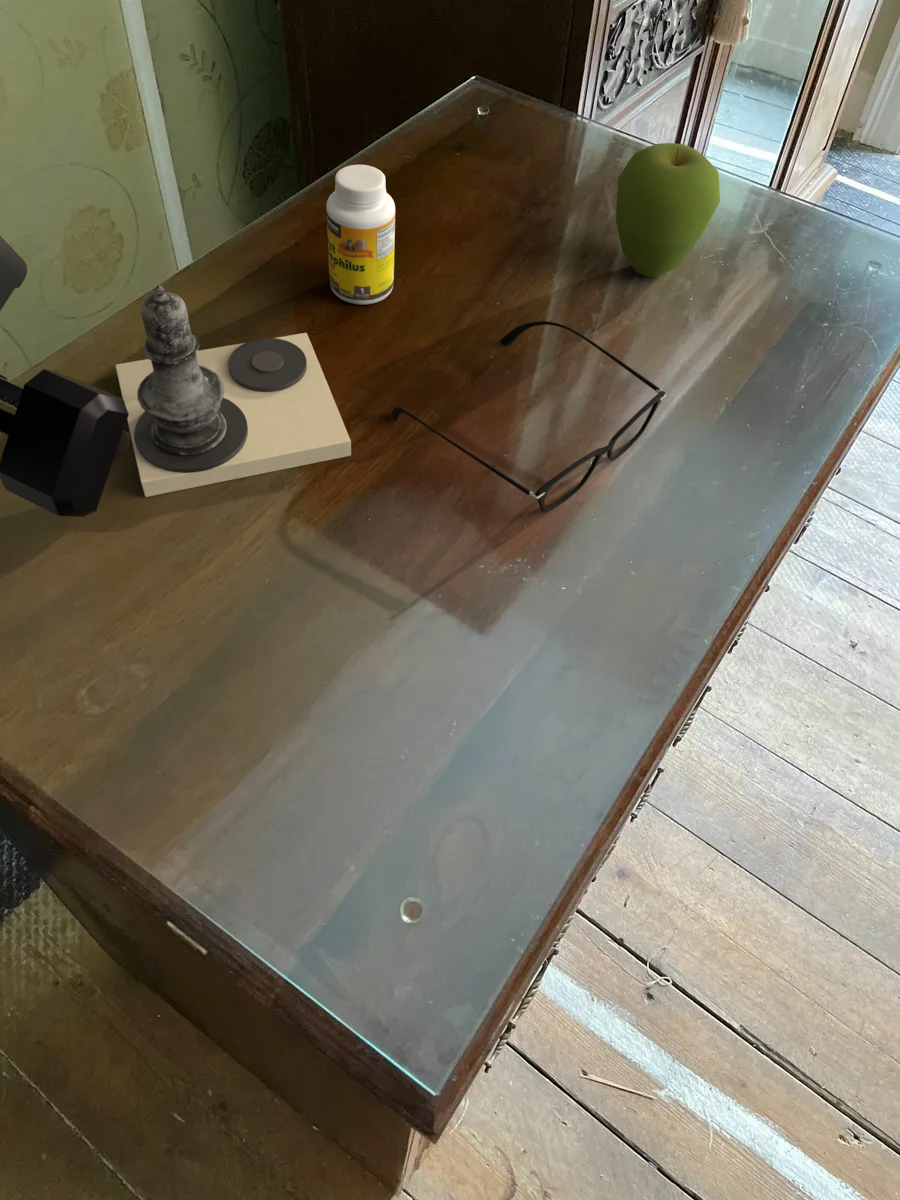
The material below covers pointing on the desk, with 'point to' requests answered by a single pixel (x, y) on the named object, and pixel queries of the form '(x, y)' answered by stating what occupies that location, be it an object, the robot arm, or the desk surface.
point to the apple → (664, 205)
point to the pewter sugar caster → (178, 381)
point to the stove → (245, 416)
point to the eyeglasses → (596, 453)
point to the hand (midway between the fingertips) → (64, 413)
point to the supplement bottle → (361, 236)
